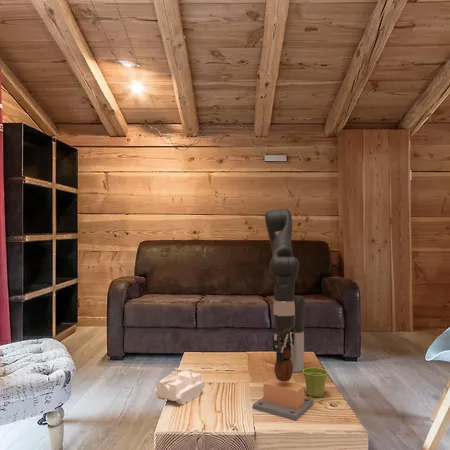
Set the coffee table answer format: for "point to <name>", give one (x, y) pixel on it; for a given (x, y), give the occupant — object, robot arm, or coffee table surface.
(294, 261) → the robot arm
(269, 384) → the brick
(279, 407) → the baseplate
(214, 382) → the coffee table surface
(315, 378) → the plant pot
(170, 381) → the toy tank
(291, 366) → the wooden figurine
